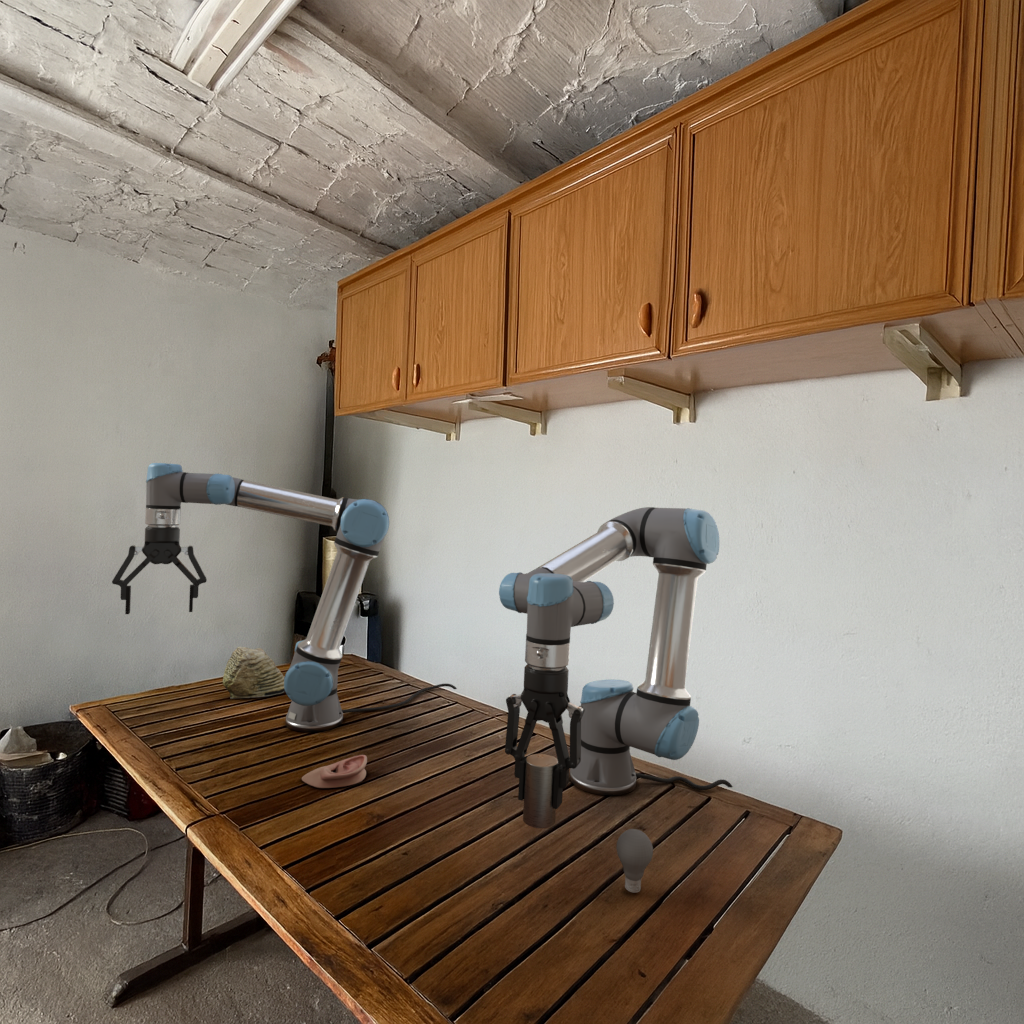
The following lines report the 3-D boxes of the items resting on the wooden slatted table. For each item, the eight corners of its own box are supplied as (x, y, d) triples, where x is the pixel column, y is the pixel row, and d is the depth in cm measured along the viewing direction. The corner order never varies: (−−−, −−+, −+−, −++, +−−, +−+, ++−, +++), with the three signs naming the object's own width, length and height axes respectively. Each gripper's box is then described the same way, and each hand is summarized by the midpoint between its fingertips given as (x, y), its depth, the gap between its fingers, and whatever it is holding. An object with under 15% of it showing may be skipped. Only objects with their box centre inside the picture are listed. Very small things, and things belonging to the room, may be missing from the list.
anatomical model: (294, 766, 138) (320, 747, 150) (294, 784, 138) (320, 763, 150) (351, 774, 136) (373, 754, 147) (350, 792, 136) (372, 770, 147)
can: (525, 829, 105) (528, 767, 104) (520, 812, 110) (523, 753, 110) (558, 828, 105) (561, 766, 105) (551, 812, 111) (554, 753, 111)
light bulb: (610, 879, 108) (613, 822, 108) (644, 879, 109) (647, 822, 109) (619, 902, 102) (622, 840, 102) (655, 901, 103) (658, 840, 103)
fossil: (218, 695, 195) (220, 647, 195) (278, 685, 208) (279, 640, 207) (228, 703, 189) (230, 653, 188) (289, 692, 201) (290, 645, 201)
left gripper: (100, 525, 147) (97, 617, 147) (219, 528, 158) (216, 612, 158) (104, 524, 153) (102, 611, 154) (218, 526, 164) (215, 607, 165)
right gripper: (487, 662, 108) (481, 797, 108) (593, 679, 100) (586, 824, 101) (505, 653, 114) (499, 780, 115) (605, 668, 107) (598, 804, 108)
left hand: (159, 612), depth 156 cm, fingers open, 13 cm apart
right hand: (540, 800), depth 108 cm, fingers closed on can, 5 cm apart
